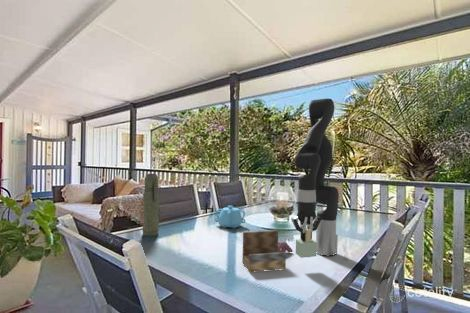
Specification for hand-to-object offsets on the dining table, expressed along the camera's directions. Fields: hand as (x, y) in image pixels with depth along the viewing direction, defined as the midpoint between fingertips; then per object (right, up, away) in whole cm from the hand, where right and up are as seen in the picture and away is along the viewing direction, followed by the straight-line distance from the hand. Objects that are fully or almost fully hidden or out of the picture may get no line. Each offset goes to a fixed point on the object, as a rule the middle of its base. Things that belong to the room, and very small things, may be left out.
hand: (306, 240), depth 128 cm
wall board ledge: (-18, -12, +2) cm, 21 cm away
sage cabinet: (0, -6, 0) cm, 6 cm away
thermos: (-79, -10, +47) cm, 92 cm away
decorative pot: (-33, -10, +70) cm, 78 cm away
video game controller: (-7, -12, +18) cm, 23 cm away
